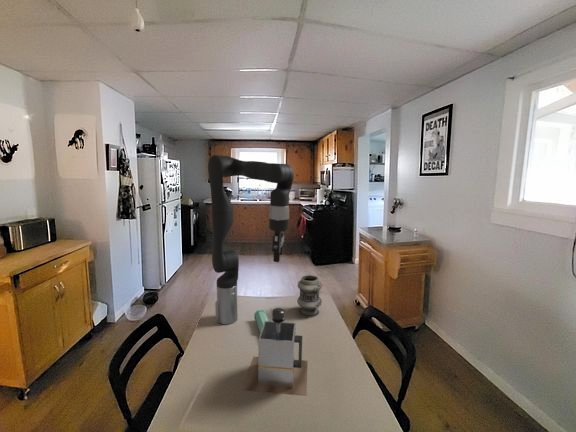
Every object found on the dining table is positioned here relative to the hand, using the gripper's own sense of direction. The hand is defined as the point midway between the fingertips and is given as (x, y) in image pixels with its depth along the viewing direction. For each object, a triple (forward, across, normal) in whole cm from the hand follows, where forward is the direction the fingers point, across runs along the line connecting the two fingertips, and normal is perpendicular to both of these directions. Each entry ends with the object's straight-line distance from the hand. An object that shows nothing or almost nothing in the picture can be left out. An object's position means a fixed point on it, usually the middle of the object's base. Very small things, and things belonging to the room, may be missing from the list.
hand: (278, 258), depth 107 cm
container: (+36, -4, -5) cm, 37 cm away
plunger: (+28, +20, +4) cm, 35 cm away
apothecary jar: (+36, -26, +13) cm, 46 cm away
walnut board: (+35, +20, +4) cm, 41 cm away
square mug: (+34, +20, +5) cm, 40 cm away
